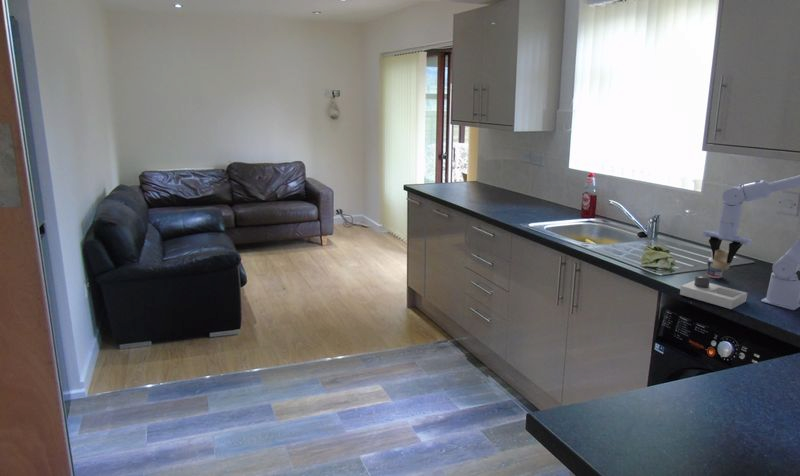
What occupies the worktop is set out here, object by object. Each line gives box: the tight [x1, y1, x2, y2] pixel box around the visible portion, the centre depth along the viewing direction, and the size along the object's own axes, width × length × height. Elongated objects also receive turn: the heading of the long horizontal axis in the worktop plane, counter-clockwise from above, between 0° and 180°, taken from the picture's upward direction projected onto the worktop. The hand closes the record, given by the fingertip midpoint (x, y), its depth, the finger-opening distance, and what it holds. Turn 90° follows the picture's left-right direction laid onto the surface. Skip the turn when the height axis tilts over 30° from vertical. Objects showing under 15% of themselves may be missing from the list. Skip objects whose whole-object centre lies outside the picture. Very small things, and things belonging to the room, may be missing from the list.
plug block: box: [712, 248, 731, 271], centre depth 195 cm, size 4×4×6 cm
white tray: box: [679, 274, 748, 310], centre depth 186 cm, size 16×12×6 cm
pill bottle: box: [705, 252, 724, 279], centre depth 210 cm, size 5×5×9 cm
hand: (721, 261), depth 195 cm, fingers closed on plug block, 4 cm apart
